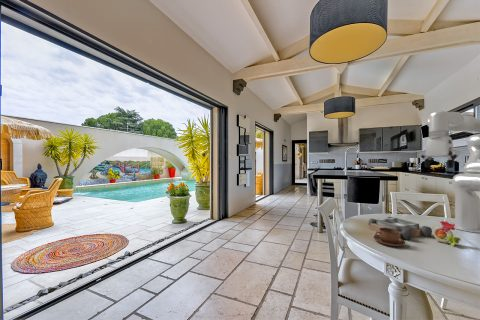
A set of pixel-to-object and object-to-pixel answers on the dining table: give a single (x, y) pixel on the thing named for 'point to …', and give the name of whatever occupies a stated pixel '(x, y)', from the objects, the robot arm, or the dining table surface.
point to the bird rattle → (441, 234)
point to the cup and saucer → (389, 237)
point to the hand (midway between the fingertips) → (438, 167)
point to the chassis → (401, 227)
